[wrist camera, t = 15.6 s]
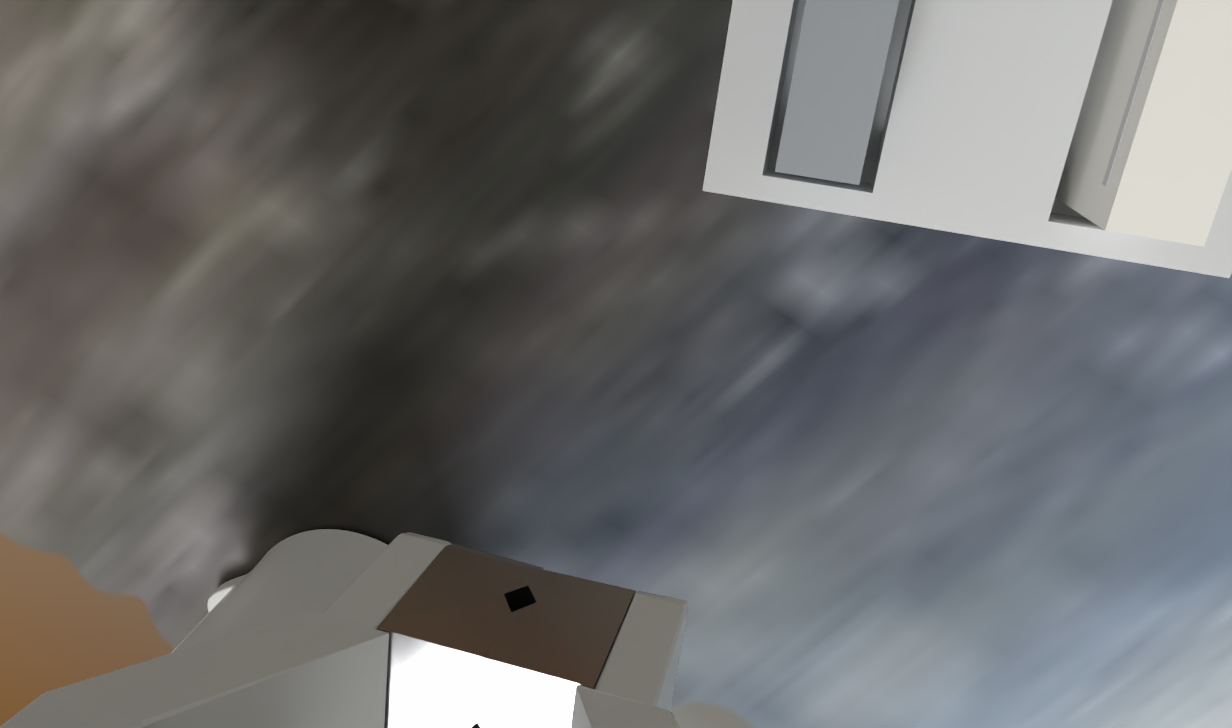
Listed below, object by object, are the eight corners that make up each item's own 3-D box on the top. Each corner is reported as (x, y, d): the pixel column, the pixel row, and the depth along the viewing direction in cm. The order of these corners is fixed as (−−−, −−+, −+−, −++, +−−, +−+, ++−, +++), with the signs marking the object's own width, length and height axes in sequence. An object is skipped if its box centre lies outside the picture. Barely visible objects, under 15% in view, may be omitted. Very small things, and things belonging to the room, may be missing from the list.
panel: (1120, -31, 34) (1193, -56, 27) (1209, -21, 34) (1308, -44, 26) (1054, 197, 37) (1103, 230, 30) (1135, 209, 37) (1205, 246, 29)
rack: (1192, 257, 38) (1275, 304, 30) (716, 179, 41) (686, 204, 34) (1306, -67, 33) (1434, -103, 26) (764, -121, 37) (742, -166, 30)
